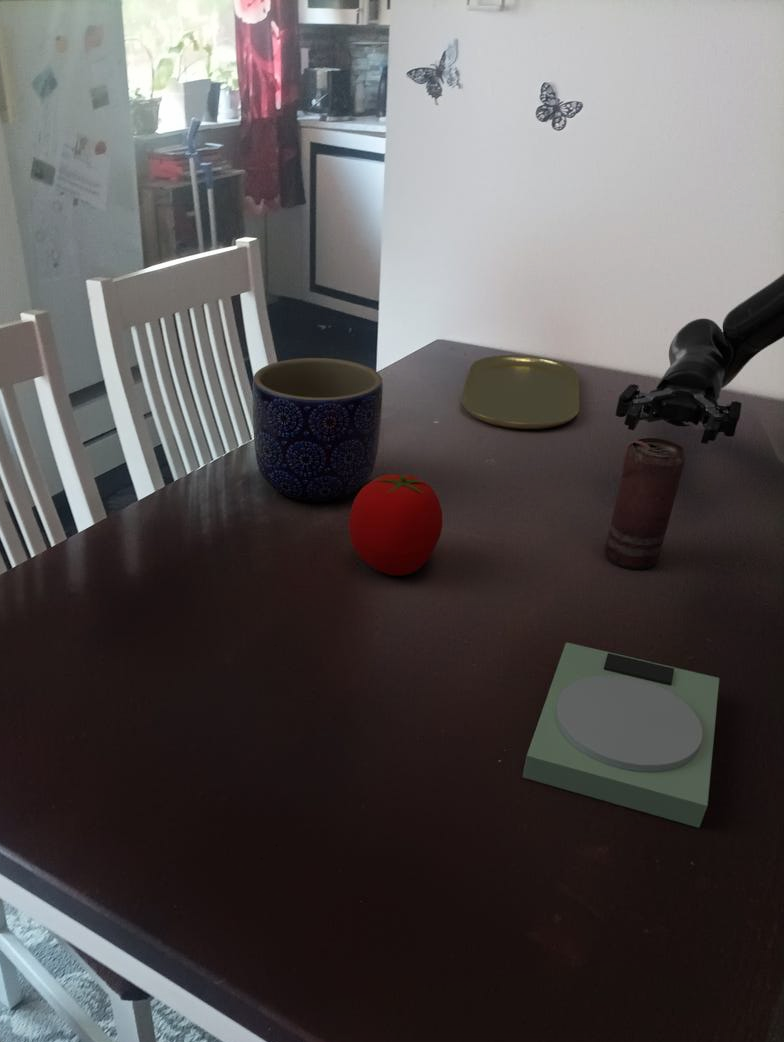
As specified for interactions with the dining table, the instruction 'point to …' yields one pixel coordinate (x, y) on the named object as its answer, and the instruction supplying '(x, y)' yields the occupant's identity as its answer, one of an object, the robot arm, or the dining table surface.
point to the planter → (316, 426)
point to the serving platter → (521, 392)
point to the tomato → (395, 523)
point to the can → (644, 502)
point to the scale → (627, 734)
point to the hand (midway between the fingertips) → (668, 429)
